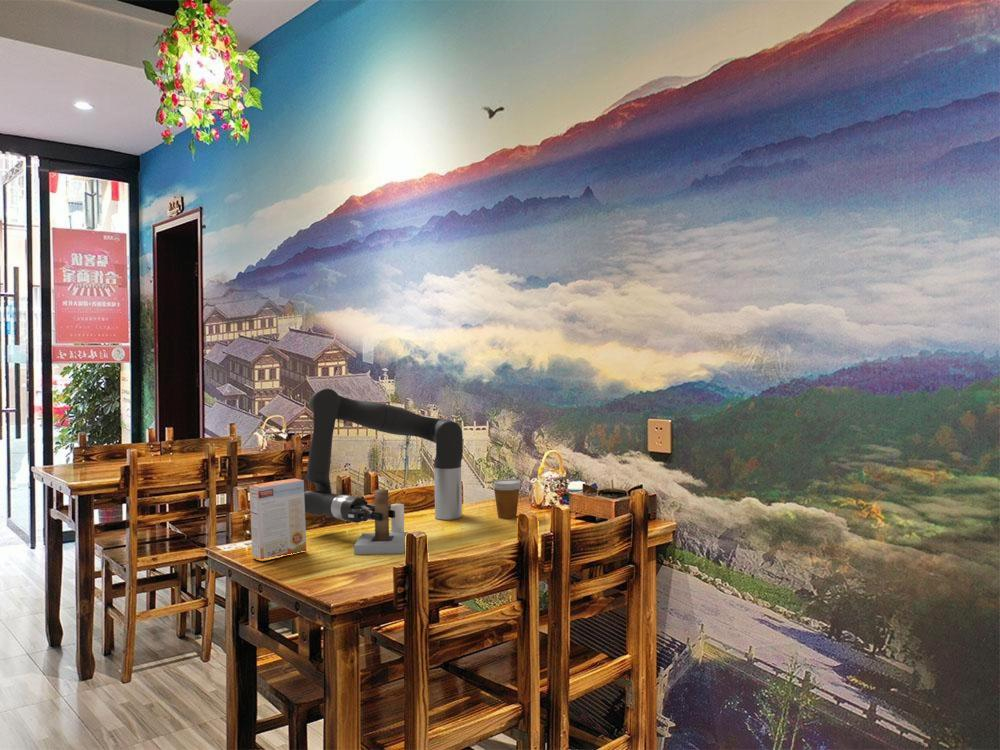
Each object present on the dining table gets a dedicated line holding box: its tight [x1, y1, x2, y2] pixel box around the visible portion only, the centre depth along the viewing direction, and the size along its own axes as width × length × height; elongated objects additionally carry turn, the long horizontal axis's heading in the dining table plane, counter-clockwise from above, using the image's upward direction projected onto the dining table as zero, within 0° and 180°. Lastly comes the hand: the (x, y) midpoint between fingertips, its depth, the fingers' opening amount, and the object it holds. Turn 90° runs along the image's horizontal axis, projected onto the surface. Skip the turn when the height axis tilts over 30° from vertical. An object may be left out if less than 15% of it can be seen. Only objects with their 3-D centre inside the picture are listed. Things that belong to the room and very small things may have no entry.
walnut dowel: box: [373, 488, 390, 541], centre depth 214 cm, size 4×4×16 cm
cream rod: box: [390, 503, 405, 533], centre depth 225 cm, size 4×4×10 cm
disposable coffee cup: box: [492, 479, 521, 520], centre depth 250 cm, size 10×10×12 cm
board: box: [353, 531, 408, 555], centre depth 214 cm, size 14×14×2 cm
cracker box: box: [249, 478, 307, 559], centre depth 206 cm, size 14×6×21 cm, turn 134°
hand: (388, 515), depth 212 cm, fingers closed on walnut dowel, 4 cm apart
